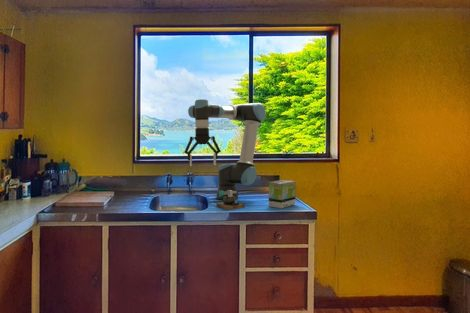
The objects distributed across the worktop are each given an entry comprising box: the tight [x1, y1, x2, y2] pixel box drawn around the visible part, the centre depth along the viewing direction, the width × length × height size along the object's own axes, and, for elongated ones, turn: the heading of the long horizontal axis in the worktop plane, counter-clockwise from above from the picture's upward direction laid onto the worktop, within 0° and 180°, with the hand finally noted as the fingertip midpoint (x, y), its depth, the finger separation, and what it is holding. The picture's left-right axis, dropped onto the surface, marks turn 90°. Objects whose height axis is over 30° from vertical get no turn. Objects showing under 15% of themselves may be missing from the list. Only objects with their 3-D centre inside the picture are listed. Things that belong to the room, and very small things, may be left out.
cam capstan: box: [219, 190, 236, 205], centre depth 204 cm, size 12×7×8 cm, turn 142°
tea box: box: [268, 179, 297, 209], centre depth 210 cm, size 15×10×15 cm
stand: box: [215, 200, 246, 211], centre depth 207 cm, size 12×12×4 cm
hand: (202, 165), depth 196 cm, fingers open, 13 cm apart
